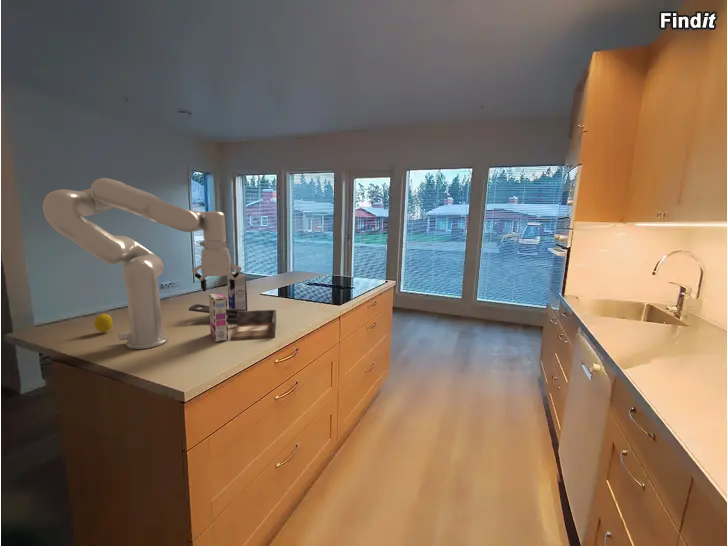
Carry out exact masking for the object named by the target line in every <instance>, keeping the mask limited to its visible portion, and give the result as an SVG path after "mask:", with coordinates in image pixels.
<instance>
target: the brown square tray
mask: <svg viewBox="0 0 728 546" xmlns="http://www.w3.org/2000/svg"><path fill="white" fill-rule="evenodd" d="M237 319H238V323H237V324H236V326H235V328H234V331H233V333H232V335H231V338H230V339H231V340H232V341H234V340H235V341H238V340H240V341H241V340H254V339H255V338H258V339H272V338H274V339H275V338H276V332H275V331H277V329H276V328H277V310H276V309H263V310H262V309H261V310H259V309H258V310H247V311H237Z"/></svg>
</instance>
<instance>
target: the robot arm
mask: <svg viewBox="0 0 728 546" xmlns="http://www.w3.org/2000/svg"><path fill="white" fill-rule="evenodd" d="M115 208H116V209H118V210H122V211H125V212H128V213H131V214H133V215H136V216H139V217H141V218H145V219H147V220H149V221H152V222H154V223H157V224H160V225H163V226H166V227H169V228H171V229H174V230H177V231H181V232H185V233H192V232H193V233H194V232H198V231H203V241H202V242H201V241H200V242H199V245H200V246H201V247H203V249H201V255H200V264H199V265H197V266H195V267H193V268H192V269H191V272H192V274H193V275H194V277H195V278H197V279H198V280H199V281H200V289H201V290H202V292H206V290H207V289H208V288H207V279H206V277H224V276H226V277H227V275H228V276H229V277H230V278H231V280H230V290H233V289H234V288H235V278H236V277H237V276H238V275H239V273H240V272H242V267H240V266H239V265H236V264H234V263H232V257H231V254H230V249H229V248H228V247H227V235H226V234H227V233H226V219H225V218H226V217H225V214H224V213H223V212H222V211H217V210H216V211H213V210H212V211H210V210H209V211H196V210H190V209H189V210H188V209H186V208H183V207H180V206H178V205H174V204H172V203H169V202H167V201H164V200H162V199H161V198H158V197H157V196H156V195H154V194H152V193H150V192H147V191H144V190H142V189H139V188H136V187H133V186H131V185H128V184H127V183H124V182H122V181H120V180H115V179H112V178H107V177H102V178H98V179H96V180H94V181H93V183H91V185H90V188H88V189H83V190H80V191H79V190H72V189H57V190H53V191H51V192H49V193H48V194H47V195H46V196H45V197H44V199H43V202H42V210H43V214H44V217H45V220H46V221H47V223H48V224H49V226H51V227H52V228H53V229H54V230H55V231H56V232H58V233H59V234H60V235H62V236H63V237H65V238H67V239H68V240H70V241H71V242H73V243H74V244H76V245H78V246H79V247H80V248H81V249H83V250H85V251H86V252H87V253H89V254H91V255H92V256H94V257H96V258H97V259H98V260H100V261H102V262H103V263H106V264H108V265H116V264H117V265H118V264H121V265H123V266H124V267H123V269H122V279H123V282H124V287H125V291H126V297H127V300H126V301H127V308H128V317H129V327H130V330H129V332H119V333H118V336H117V337H118V338H119V341H122V340H123V341H124V340H127V341H126V343H125V344H126V347H127V348H128V349H132V350H143V349H144V350H145V349H152V348H154V347H158V346H159V347H160V346H161V345H163V344H165V343H166V342H168V339H169V337H168V335H166V334H163V325H162V324H163V323H162V311H161V310H162V309H161V298H160V297H161V296H160V291H159V289H160V288H159V285H158V280H157V278H158V277H160V275H162V274H163V272H164V268H165V267H164V263H163V261H162V259H161V258H160V257H159V256H158V255H156V254H154V253H153V252H152V251H150V250H149V249H147V248H146V247H145V246H143V245H142V244H140V243H139V242H137V241H136V240H134V239H132V238H131V237H128V236H125V235H114V234H111V233H109V232H108V231H107V230H105V229H103V228H102V227H101V226H99V225H98V224H96V223H94V222H92V221H91V220H89V219H87V218H86V217H90V216H93V215H97V214H99V213H103V212H105V211H108V210H113V209H115ZM233 269H235V270H236V272H235V274H233V273H232V272H233ZM198 270H200V273H201V274H200V273H199V272H198Z"/></svg>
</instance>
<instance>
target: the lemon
mask: <svg viewBox="0 0 728 546" xmlns="http://www.w3.org/2000/svg"><path fill="white" fill-rule="evenodd" d="M113 324H114V323H113V319H112V317H111V315H109V314H108V313H107V314H106V313H100V314H99V315H98V316H96V317H95V320H94V327H95V329H96V330H97V332H101V333H103V334H105V332H106V333H107V332H108V331H110V330H111V329H112V328H113V326H114V325H113Z"/></svg>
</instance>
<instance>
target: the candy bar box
mask: <svg viewBox="0 0 728 546" xmlns="http://www.w3.org/2000/svg"><path fill="white" fill-rule="evenodd" d="M208 301H209V302H208V303H209V305H208V306H209V309H210V313H209V323H210V324H209V329H210V335H211V337H212V340H213V341H214V343H221V342H226V341H229V329H228V327H229V326H228V324H229V323H228V321H227V309H228V298H227V297H225V296H224V294H223V293H220V292H219V293H209V294H208Z"/></svg>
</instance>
